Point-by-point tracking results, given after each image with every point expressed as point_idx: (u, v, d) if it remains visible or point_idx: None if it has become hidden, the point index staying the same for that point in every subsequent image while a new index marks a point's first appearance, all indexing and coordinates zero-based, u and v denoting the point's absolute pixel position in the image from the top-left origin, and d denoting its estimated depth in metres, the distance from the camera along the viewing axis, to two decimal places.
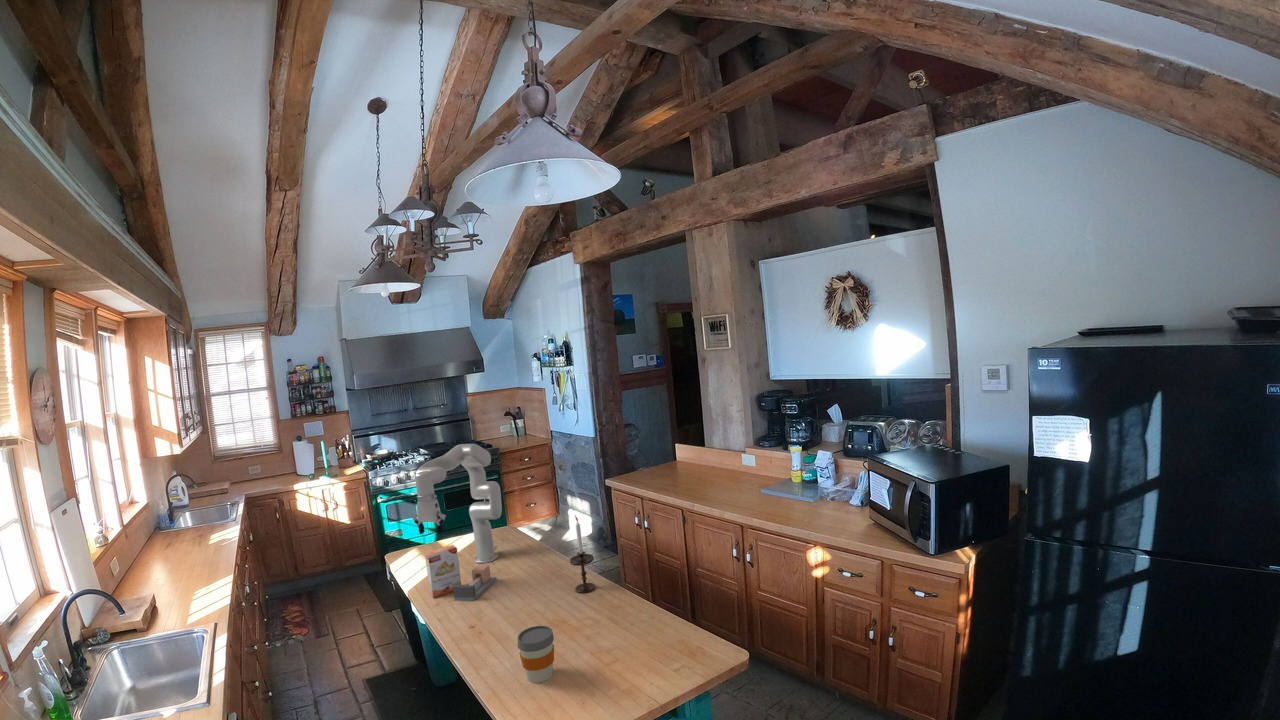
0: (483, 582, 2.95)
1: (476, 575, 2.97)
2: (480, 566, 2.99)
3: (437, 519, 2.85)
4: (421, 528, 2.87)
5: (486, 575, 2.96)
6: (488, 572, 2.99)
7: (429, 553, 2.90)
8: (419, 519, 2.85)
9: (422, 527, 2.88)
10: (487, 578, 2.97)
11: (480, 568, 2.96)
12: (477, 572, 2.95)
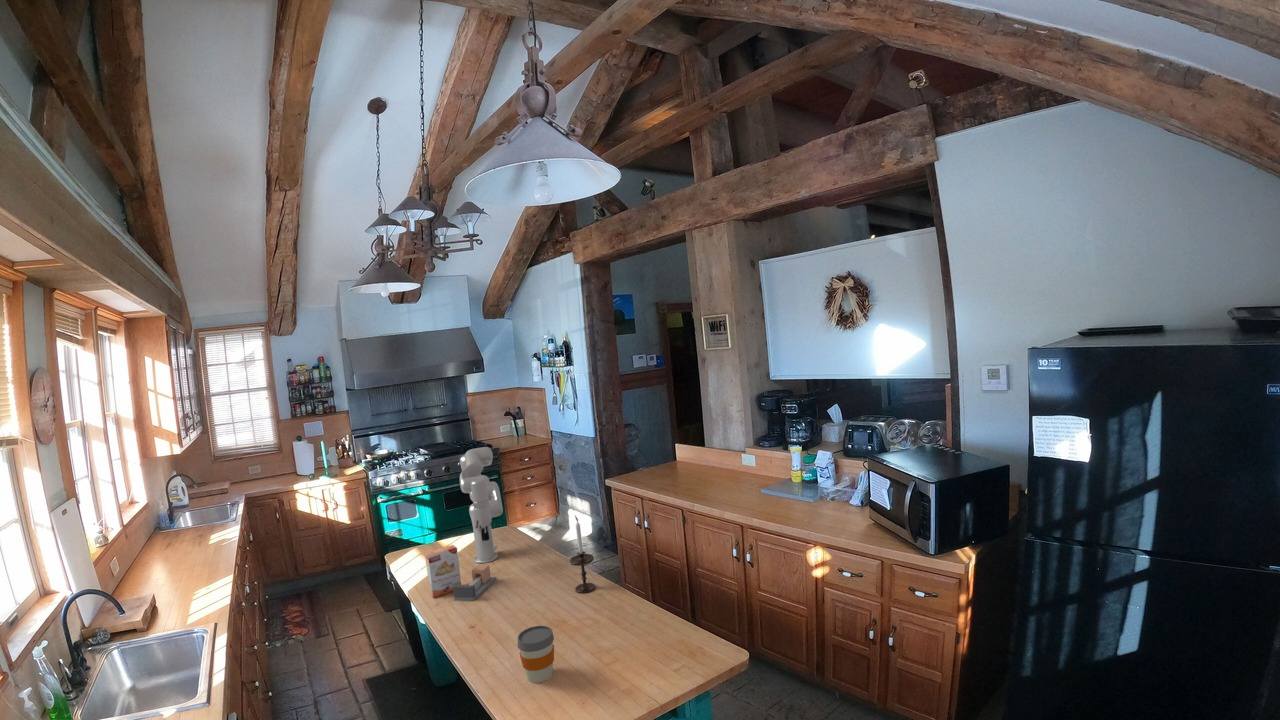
0: (483, 582, 2.95)
1: (476, 575, 2.97)
2: (480, 566, 2.99)
3: (486, 525, 3.06)
4: None
5: (486, 575, 2.96)
6: (488, 572, 2.99)
7: (429, 553, 2.90)
8: (483, 525, 3.00)
9: None
10: (487, 578, 2.97)
11: (480, 568, 2.96)
12: (477, 572, 2.95)
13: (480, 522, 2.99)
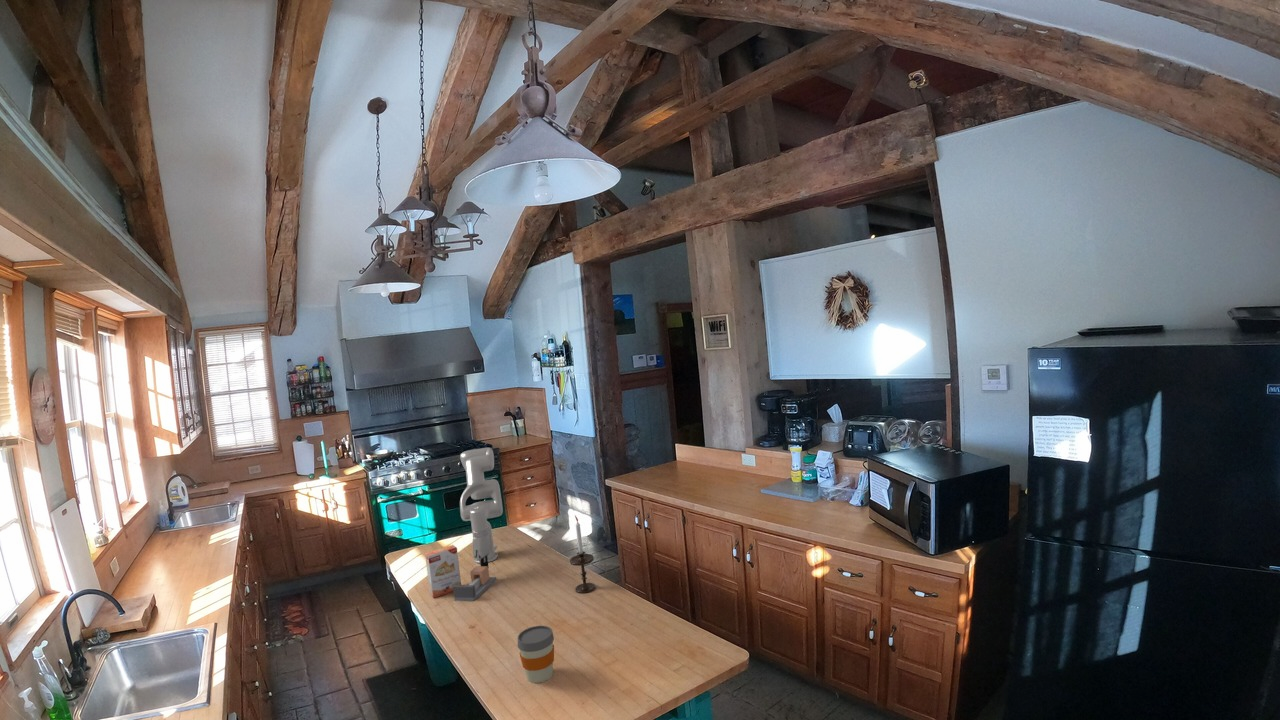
0: (482, 583, 2.93)
1: (475, 576, 2.96)
2: (479, 567, 2.98)
3: None
4: None
5: (485, 576, 2.95)
6: (487, 573, 2.97)
7: (429, 553, 2.90)
8: (482, 555, 2.97)
9: None
10: (486, 579, 2.96)
11: (479, 569, 2.95)
12: (476, 573, 2.94)
13: (479, 552, 2.96)
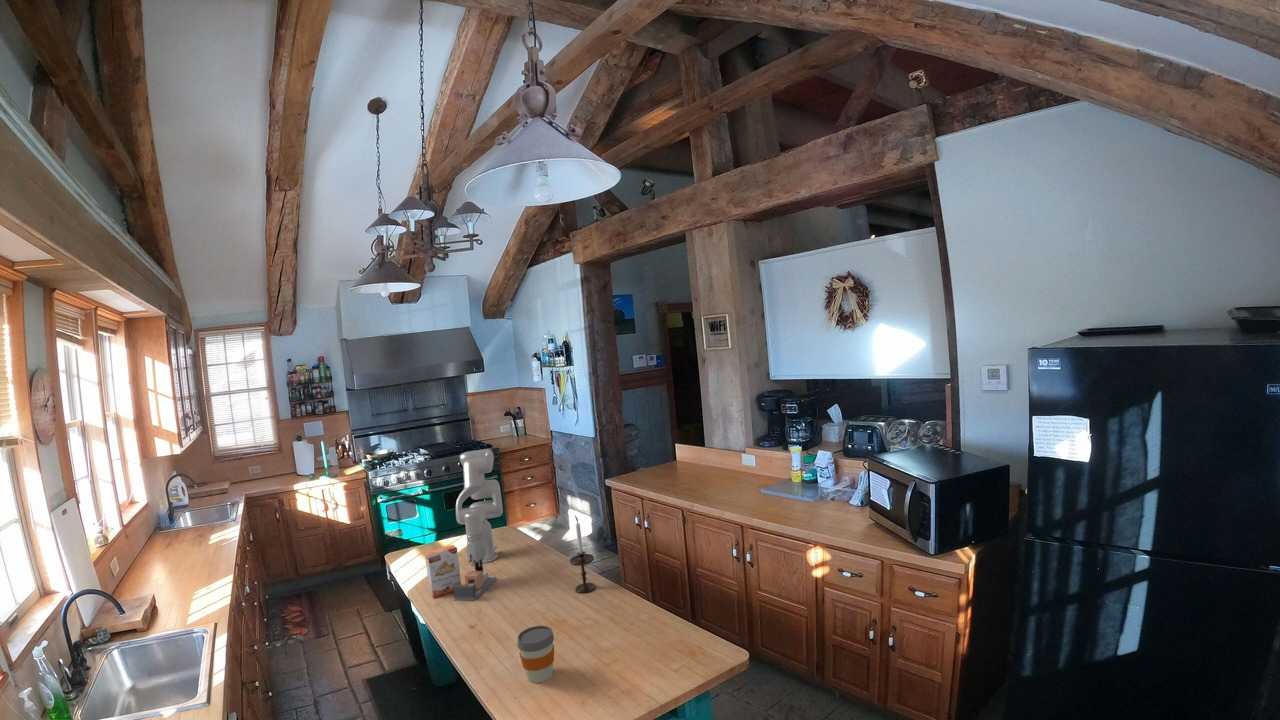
0: (476, 588, 2.88)
1: (469, 581, 2.91)
2: (473, 572, 2.93)
3: None
4: None
5: (479, 581, 2.90)
6: (481, 578, 2.92)
7: (429, 553, 2.90)
8: (477, 559, 2.92)
9: None
10: (480, 584, 2.91)
11: (473, 574, 2.90)
12: (470, 578, 2.89)
13: (474, 556, 2.91)
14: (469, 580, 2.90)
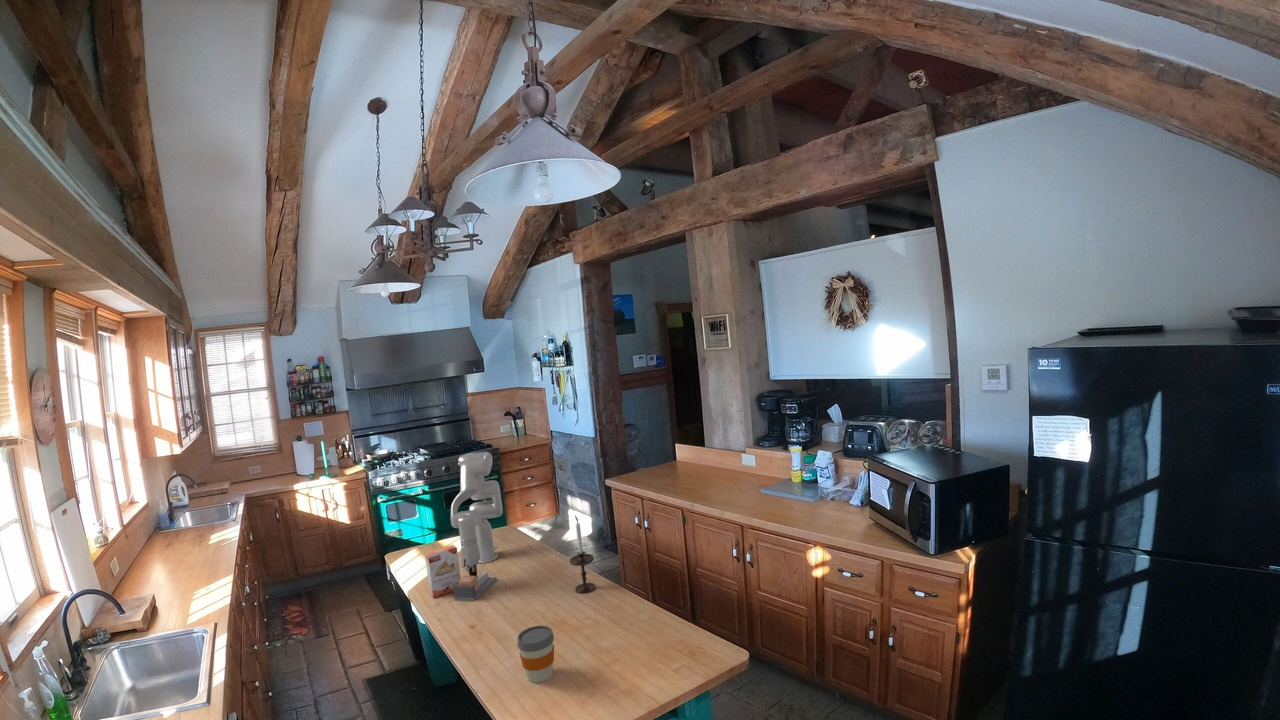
0: None
1: None
2: (467, 577, 2.87)
3: None
4: None
5: None
6: (476, 583, 2.87)
7: (429, 553, 2.90)
8: (471, 564, 2.86)
9: None
10: None
11: (467, 579, 2.85)
12: (464, 583, 2.83)
13: (468, 561, 2.85)
14: None
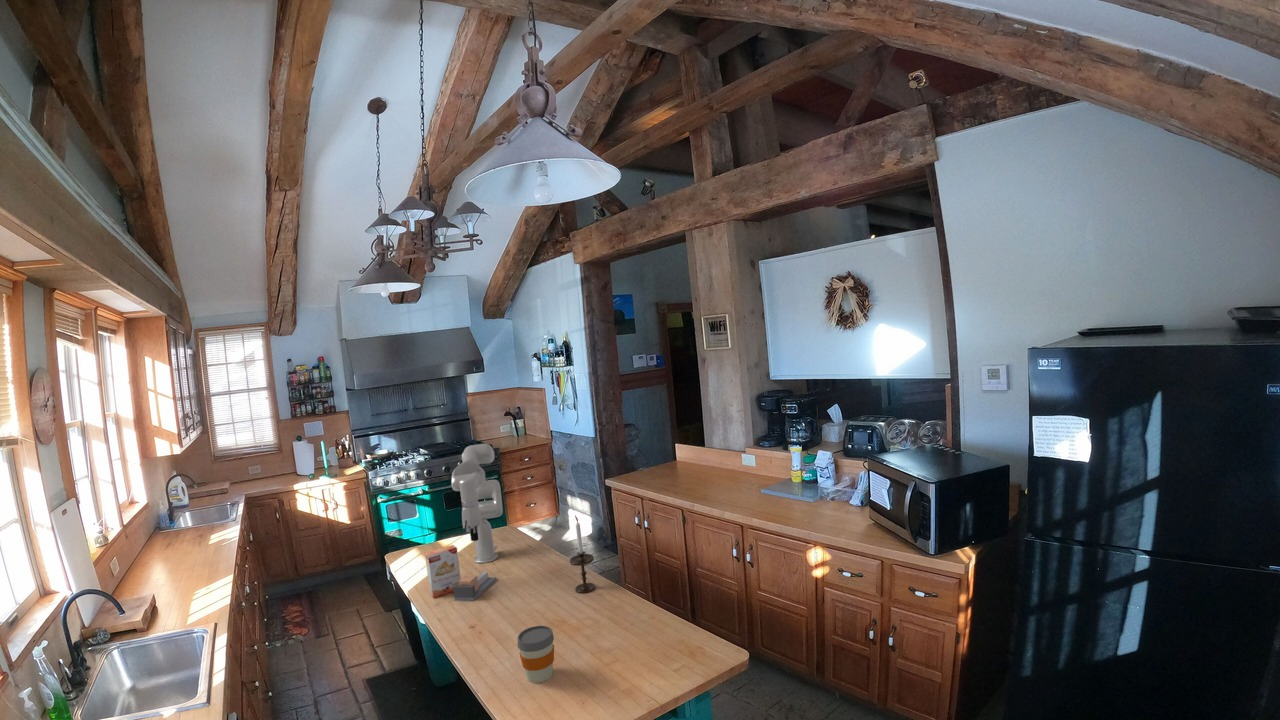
0: None
1: None
2: (467, 577, 2.87)
3: None
4: None
5: None
6: (476, 583, 2.87)
7: (429, 553, 2.90)
8: (472, 525, 2.90)
9: None
10: None
11: (467, 579, 2.85)
12: (464, 583, 2.83)
13: (469, 522, 2.89)
14: None
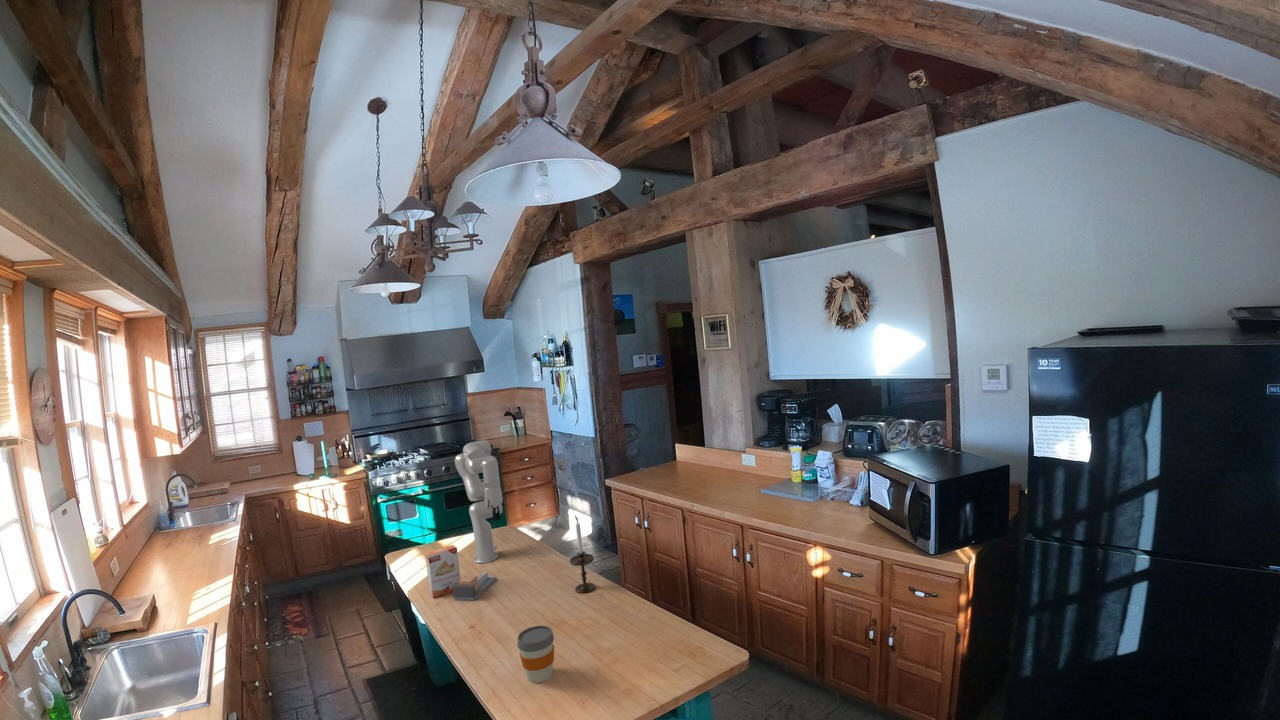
0: None
1: None
2: (467, 577, 2.87)
3: None
4: None
5: None
6: (476, 583, 2.87)
7: (429, 553, 2.90)
8: (494, 505, 2.98)
9: None
10: None
11: (467, 579, 2.85)
12: (464, 583, 2.83)
13: (491, 502, 2.97)
14: None
